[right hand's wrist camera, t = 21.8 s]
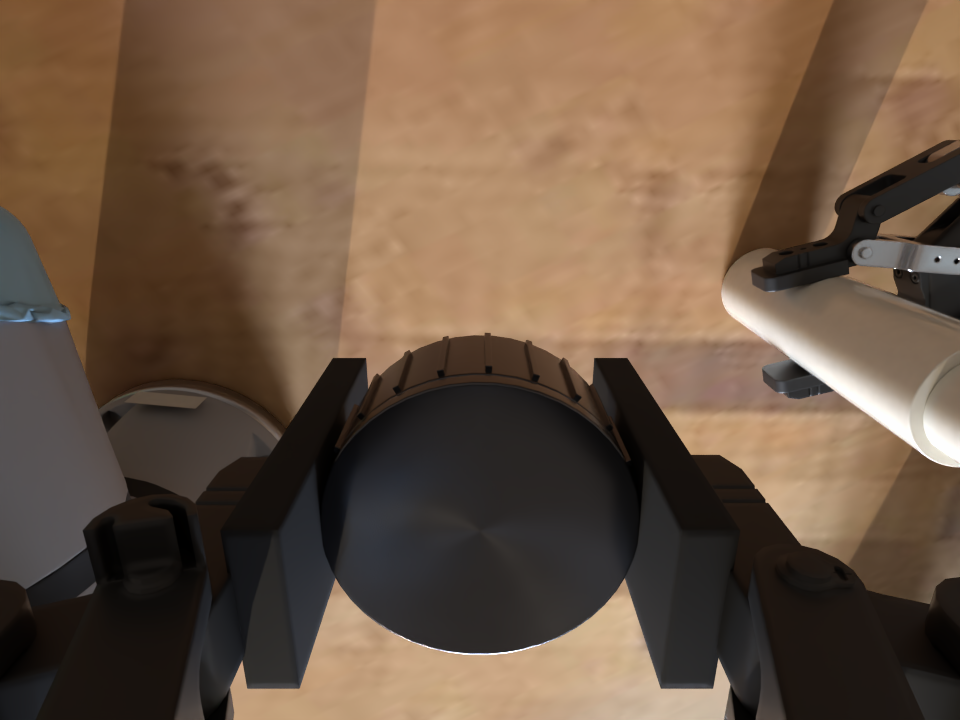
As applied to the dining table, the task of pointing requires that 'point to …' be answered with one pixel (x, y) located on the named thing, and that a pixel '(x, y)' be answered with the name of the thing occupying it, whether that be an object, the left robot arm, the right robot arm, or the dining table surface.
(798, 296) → the cream cylindrical bottle
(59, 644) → the right robot arm
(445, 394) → the lid
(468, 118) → the dining table surface
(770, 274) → the left robot arm
